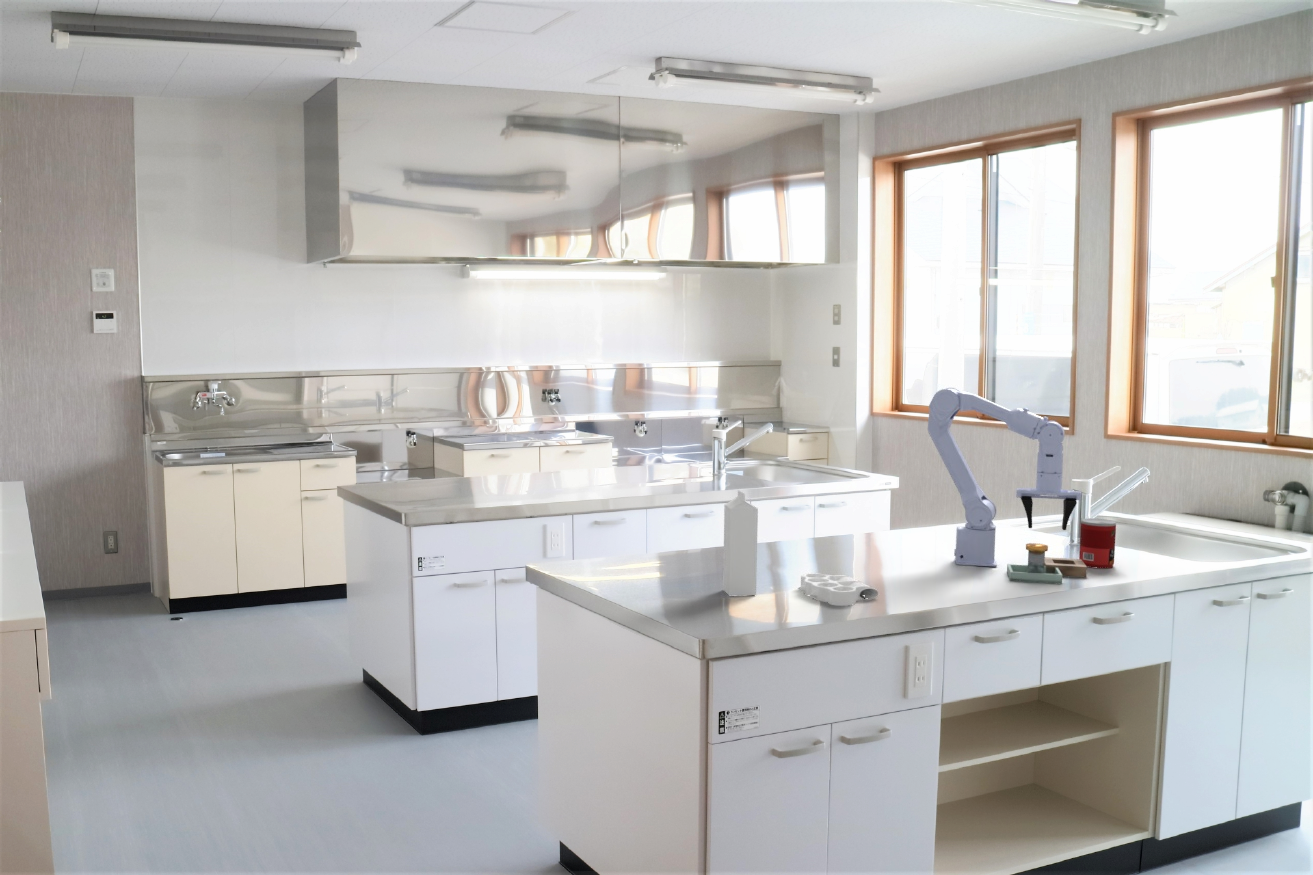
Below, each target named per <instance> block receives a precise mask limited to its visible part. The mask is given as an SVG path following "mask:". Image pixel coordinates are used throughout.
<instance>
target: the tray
mask: <svg viewBox="0 0 1313 875" xmlns="http://www.w3.org/2000/svg"><path fill="white" fill-rule="evenodd" d="M1050 568H1051V567H1047V573H1046V566H1044V574H1042V573H1028V564H1016V563H1015V564H1014V563H1007V564H1006V574H1007V576H1008V578H1009V581H1010V582H1023V583H1024V582H1025V583H1026V582H1027V583H1038V582H1042V583H1041V584H1054V583H1057V584H1059V585H1062V584H1063V577H1064V576H1063V575H1062V574H1061V572H1060V570H1059V569H1058V567H1055V568H1054V567H1053V568H1051V569H1050ZM1050 570H1051V572H1052V571H1053V572H1052V573H1051V572H1050ZM1054 572H1055V573H1054Z"/></svg>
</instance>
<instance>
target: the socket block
mask: <svg viewBox="0 0 1313 875" xmlns="http://www.w3.org/2000/svg"><path fill="white" fill-rule="evenodd" d="M1044 566H1046V573H1047V567H1051V568H1053V567H1054V568H1055V567H1058V569H1059V570H1060V572H1061V574H1062V575H1063V576H1062V577H1068V576H1069V577H1073V578H1084V579H1085V578H1087V574H1088V573H1087V572H1088V571H1087V570H1088V567H1087V566H1086V565H1085V564H1084V562H1083V561H1082V560H1081V559H1079V558H1066V557H1065V558H1064V557H1063V558H1062V557H1047V556H1045V562H1044ZM1051 568H1050V569H1051ZM1050 572H1051V570H1050ZM1052 572H1053V571H1052ZM1052 572H1051V573H1052ZM1054 573H1055V572H1054Z"/></svg>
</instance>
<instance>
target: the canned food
mask: <svg viewBox="0 0 1313 875" xmlns="http://www.w3.org/2000/svg"><path fill="white" fill-rule="evenodd" d="M1079 532H1080V533H1079V534H1080V535H1079V536H1080V537H1079V555H1078V559H1081V560H1082V561H1083V562H1084V564H1085V565H1086V566H1087V568H1092V567H1097V568H1096V569H1110V568H1113V566H1114V564H1115V555H1116V554H1115V553H1116V552H1115V549H1116V533H1117V522H1116V521H1114V520H1111V519H1105V518H1083V519H1081V520H1080V530H1079Z"/></svg>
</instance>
